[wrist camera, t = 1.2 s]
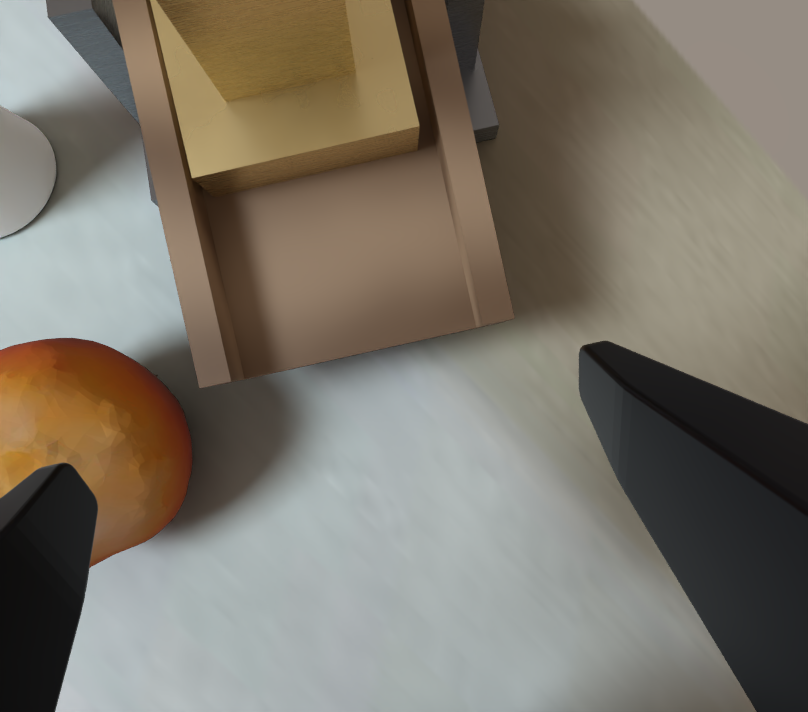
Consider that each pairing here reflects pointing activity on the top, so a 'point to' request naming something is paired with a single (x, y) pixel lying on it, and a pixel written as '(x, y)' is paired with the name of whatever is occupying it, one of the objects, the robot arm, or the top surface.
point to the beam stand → (102, 50)
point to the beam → (327, 227)
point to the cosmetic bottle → (23, 172)
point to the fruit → (96, 434)
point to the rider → (284, 87)
